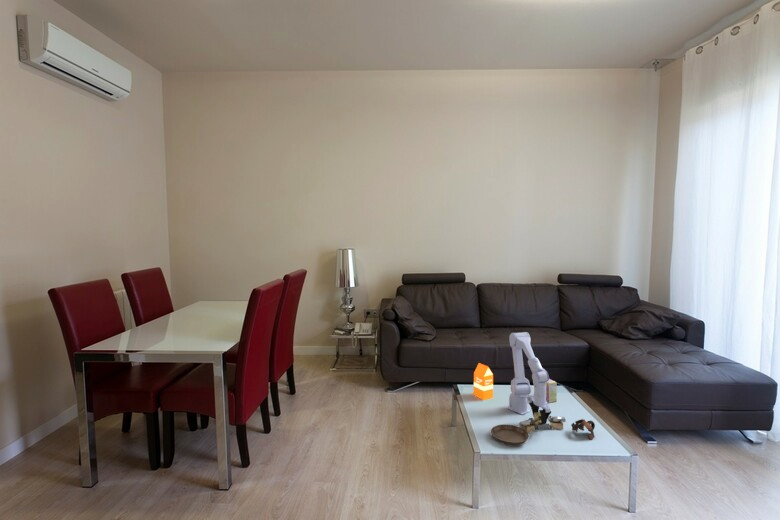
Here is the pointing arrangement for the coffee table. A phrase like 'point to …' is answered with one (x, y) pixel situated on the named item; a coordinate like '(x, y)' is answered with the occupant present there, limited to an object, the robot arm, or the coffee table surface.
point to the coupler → (537, 418)
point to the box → (551, 391)
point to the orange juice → (483, 382)
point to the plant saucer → (510, 435)
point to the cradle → (541, 426)
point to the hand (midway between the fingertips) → (539, 420)
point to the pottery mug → (581, 424)
